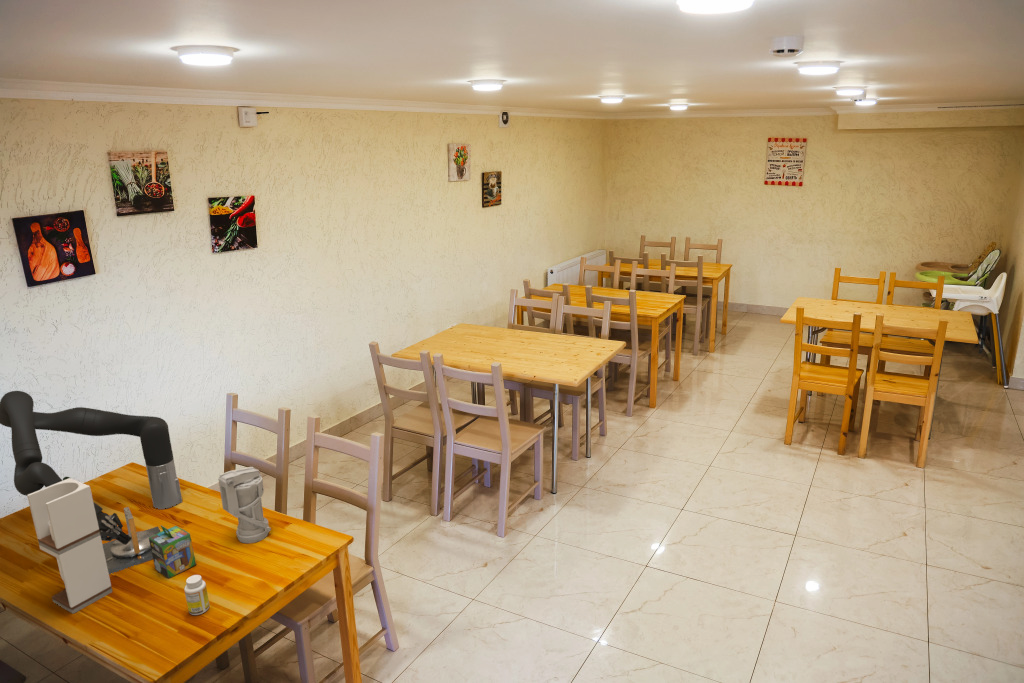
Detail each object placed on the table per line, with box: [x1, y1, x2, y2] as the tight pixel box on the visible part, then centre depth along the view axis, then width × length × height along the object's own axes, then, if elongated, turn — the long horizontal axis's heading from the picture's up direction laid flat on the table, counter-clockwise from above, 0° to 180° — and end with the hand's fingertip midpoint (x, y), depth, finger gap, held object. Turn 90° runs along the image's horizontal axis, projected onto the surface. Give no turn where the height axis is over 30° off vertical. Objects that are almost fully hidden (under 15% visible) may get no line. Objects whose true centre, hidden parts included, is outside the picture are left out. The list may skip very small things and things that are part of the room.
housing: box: [102, 526, 162, 575], centre depth 225 cm, size 18×18×2 cm
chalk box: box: [149, 524, 197, 580], centre depth 214 cm, size 9×9×15 cm
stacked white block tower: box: [26, 477, 113, 614], centre depth 198 cm, size 11×11×35 cm
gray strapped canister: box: [218, 466, 272, 544], centre depth 228 cm, size 13×10×25 cm
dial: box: [111, 506, 155, 557], centre depth 222 cm, size 15×13×14 cm
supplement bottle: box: [183, 574, 210, 616], centre depth 194 cm, size 6×6×10 cm
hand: (128, 541), depth 218 cm, fingers closed
